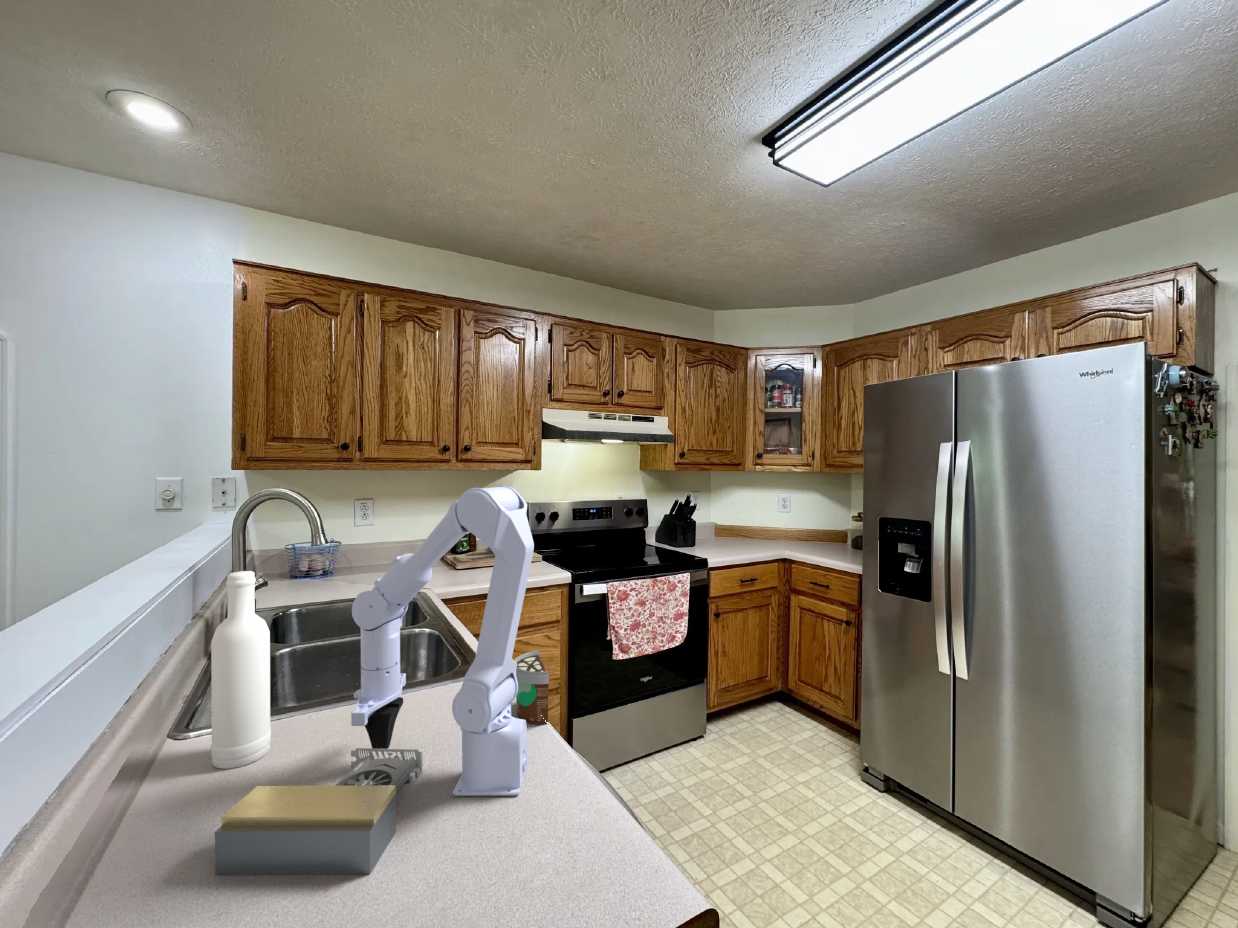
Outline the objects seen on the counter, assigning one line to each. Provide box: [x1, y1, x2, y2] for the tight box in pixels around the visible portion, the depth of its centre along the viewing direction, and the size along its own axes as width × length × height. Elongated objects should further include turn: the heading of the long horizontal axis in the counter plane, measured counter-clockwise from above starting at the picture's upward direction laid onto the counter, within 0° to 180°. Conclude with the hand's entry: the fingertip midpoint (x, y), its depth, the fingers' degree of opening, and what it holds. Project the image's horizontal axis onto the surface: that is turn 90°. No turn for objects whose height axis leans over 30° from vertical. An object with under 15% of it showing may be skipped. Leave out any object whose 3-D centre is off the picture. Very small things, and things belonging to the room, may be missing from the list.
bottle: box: [210, 570, 272, 770], centre depth 86 cm, size 8×8×30 cm
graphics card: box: [334, 747, 426, 807], centre depth 74 cm, size 17×4×12 cm
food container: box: [514, 650, 550, 726], centre depth 99 cm, size 12×6×10 cm, turn 17°
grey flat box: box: [214, 785, 397, 876], centre depth 64 cm, size 18×7×6 cm, turn 90°
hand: (381, 749), depth 83 cm, fingers closed
